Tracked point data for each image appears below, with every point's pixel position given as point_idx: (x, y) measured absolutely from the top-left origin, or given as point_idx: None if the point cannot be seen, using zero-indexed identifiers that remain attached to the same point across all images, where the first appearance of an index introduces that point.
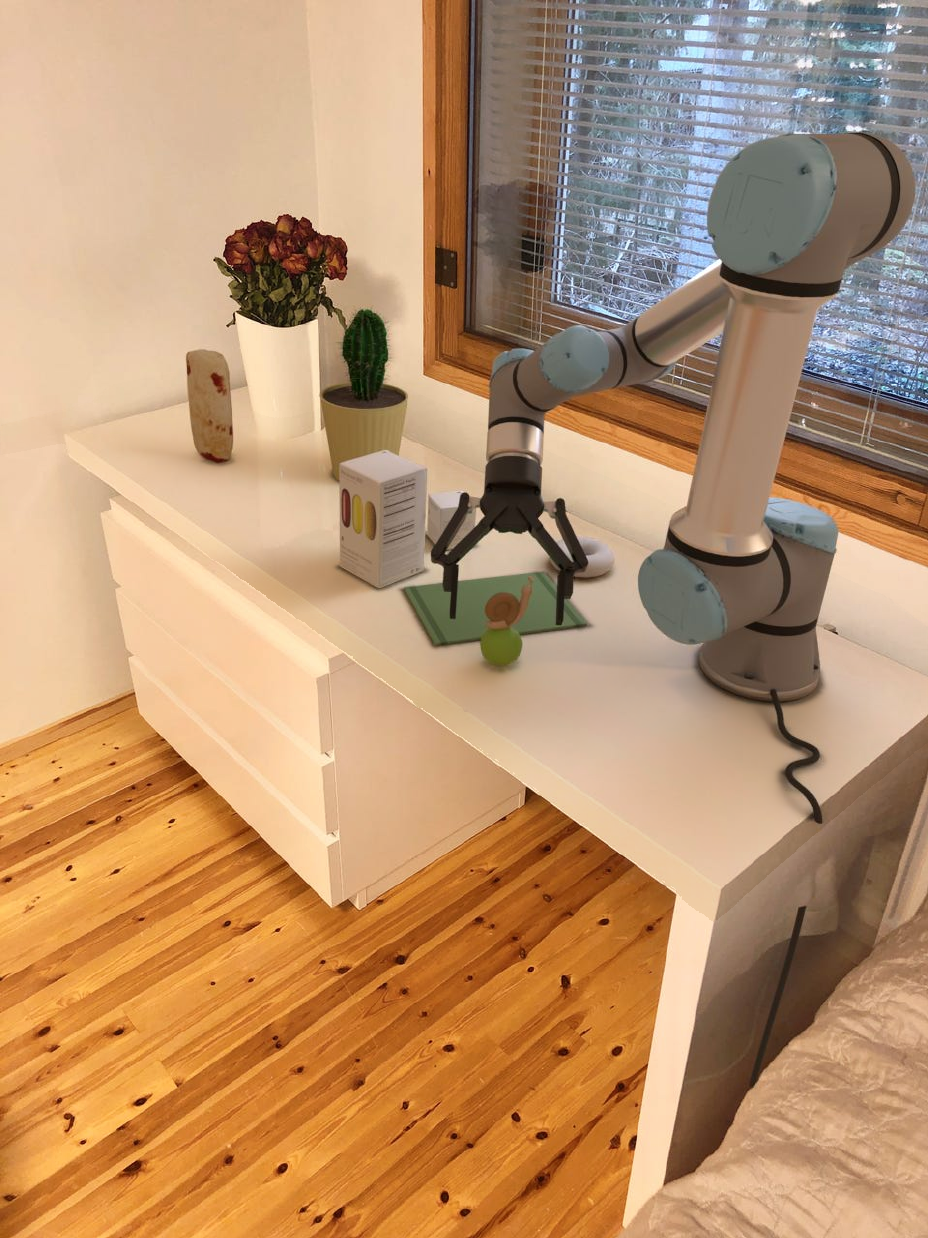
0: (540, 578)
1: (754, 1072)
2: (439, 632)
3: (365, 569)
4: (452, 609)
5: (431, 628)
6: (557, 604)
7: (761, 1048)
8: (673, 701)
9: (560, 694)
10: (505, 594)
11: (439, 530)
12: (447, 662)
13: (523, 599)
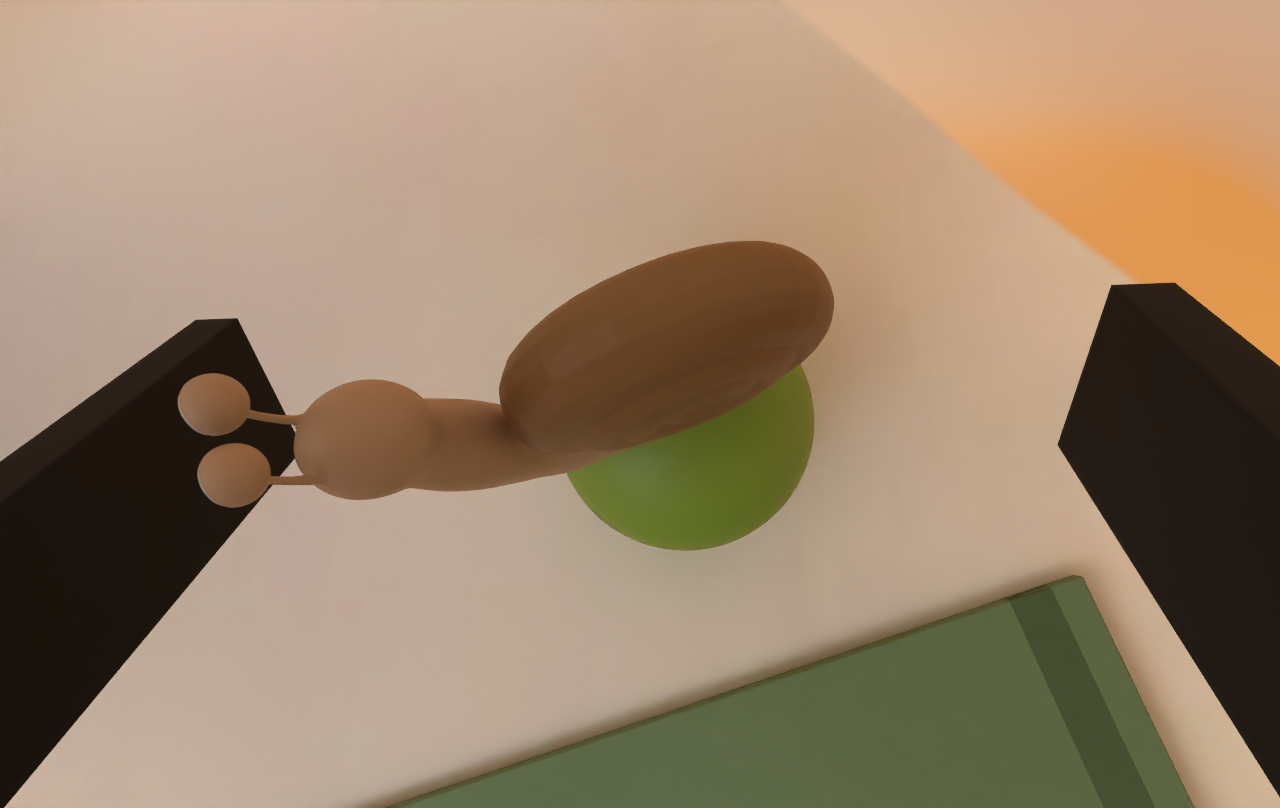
0: None
1: None
2: (1076, 710)
3: None
4: (1166, 304)
5: (1140, 760)
6: (169, 447)
7: None
8: (15, 236)
9: (427, 213)
10: (615, 294)
11: None
12: (974, 407)
13: (442, 402)
